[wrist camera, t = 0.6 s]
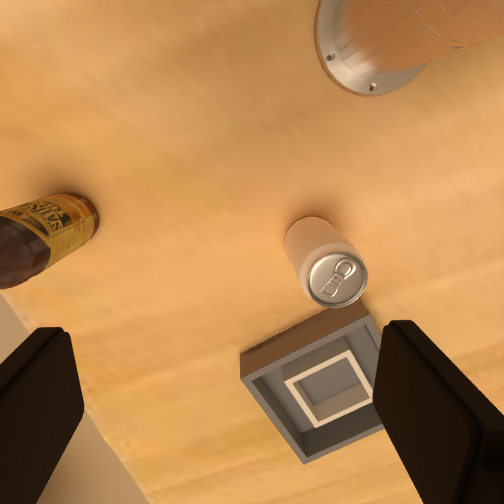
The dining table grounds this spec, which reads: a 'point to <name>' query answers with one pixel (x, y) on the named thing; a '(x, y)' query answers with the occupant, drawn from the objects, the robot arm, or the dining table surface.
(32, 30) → the dining table surface
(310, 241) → the can
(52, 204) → the sauce bottle
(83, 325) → the dining table surface
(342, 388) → the box
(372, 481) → the dining table surface
